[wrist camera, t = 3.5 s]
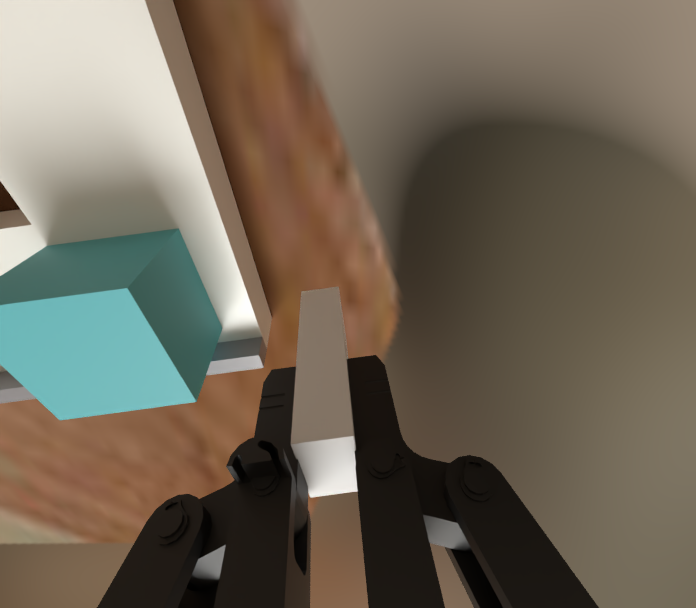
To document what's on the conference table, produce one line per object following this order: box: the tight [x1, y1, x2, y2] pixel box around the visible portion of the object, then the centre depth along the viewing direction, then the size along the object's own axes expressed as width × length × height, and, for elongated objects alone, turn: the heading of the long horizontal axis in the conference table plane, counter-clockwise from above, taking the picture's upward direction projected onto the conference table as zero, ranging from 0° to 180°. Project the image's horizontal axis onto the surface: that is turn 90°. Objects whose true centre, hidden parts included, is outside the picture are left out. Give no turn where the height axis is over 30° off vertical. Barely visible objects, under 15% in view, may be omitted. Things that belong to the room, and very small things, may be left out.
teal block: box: [0, 228, 223, 420], centre depth 14 cm, size 6×6×5 cm
